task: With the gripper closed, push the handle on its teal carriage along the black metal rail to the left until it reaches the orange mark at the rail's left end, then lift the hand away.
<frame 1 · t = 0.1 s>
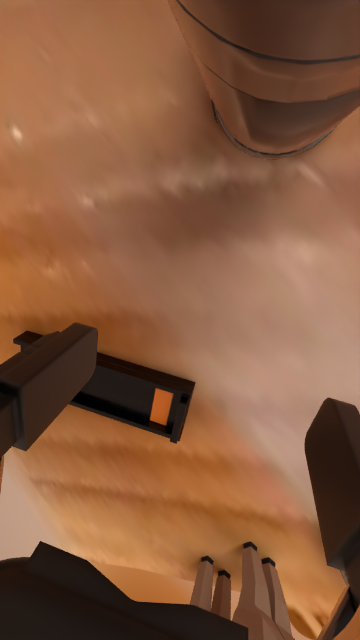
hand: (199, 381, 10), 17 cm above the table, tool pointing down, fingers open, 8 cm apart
rail: (105, 379, 34), on the table
toy: (235, 559, 42), on the table
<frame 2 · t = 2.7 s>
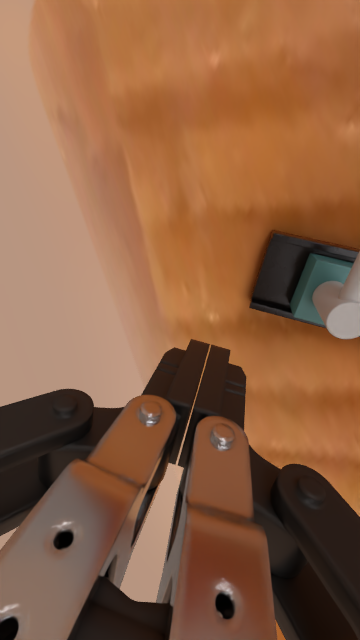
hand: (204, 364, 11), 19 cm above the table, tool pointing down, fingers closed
handle: (342, 279, 21), point 5 cm above the table, slide at 0.0 cm
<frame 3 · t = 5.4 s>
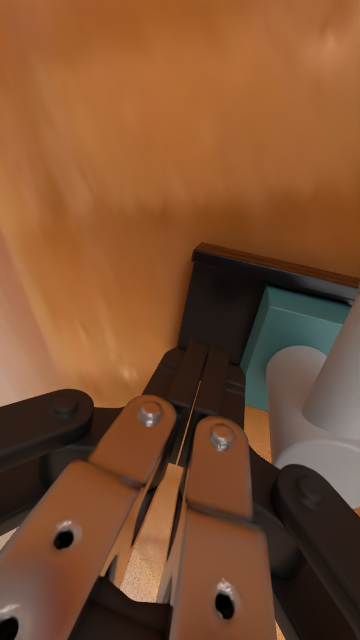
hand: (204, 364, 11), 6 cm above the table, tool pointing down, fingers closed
handle: (319, 349, 10), point 5 cm above the table, slide at 0.2 cm, touching gripper
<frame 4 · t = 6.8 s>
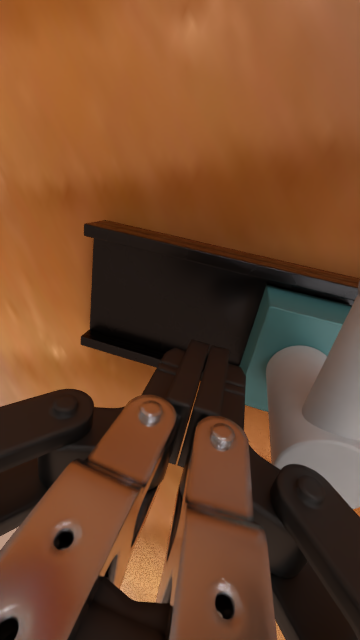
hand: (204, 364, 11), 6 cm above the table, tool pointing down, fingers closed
rail: (274, 324, 16), on the table
handle: (319, 349, 10), point 5 cm above the table, slide at 5.8 cm, touching gripper
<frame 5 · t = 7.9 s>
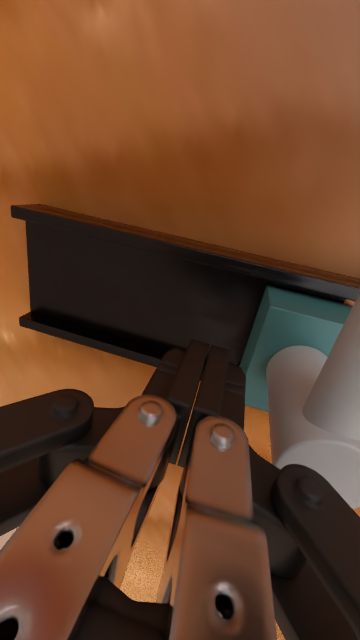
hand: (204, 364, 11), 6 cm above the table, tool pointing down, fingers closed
rail: (202, 305, 16), on the table
handle: (319, 349, 10), point 5 cm above the table, slide at 9.9 cm, touching gripper
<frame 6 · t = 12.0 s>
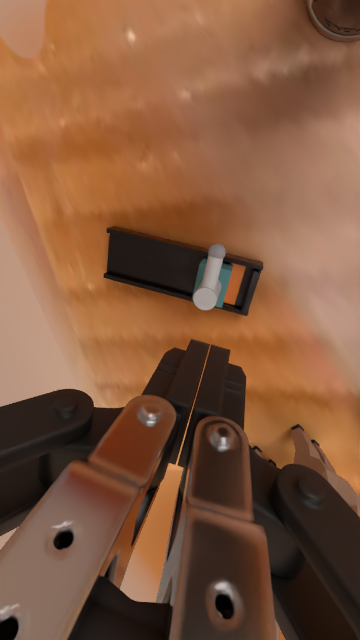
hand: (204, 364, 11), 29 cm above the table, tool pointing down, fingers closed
rail: (181, 268, 40), on the table
handle: (213, 275, 34), point 5 cm above the table, slide at 10.0 cm
toy: (281, 446, 48), on the table
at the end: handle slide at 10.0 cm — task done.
